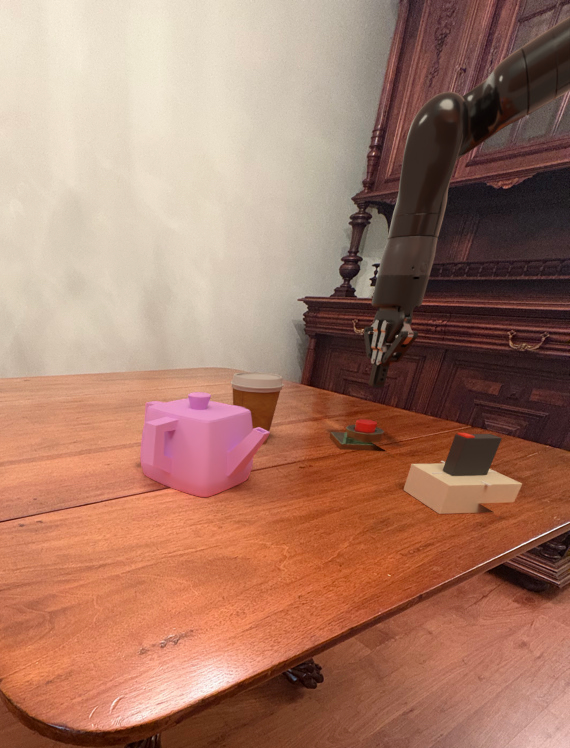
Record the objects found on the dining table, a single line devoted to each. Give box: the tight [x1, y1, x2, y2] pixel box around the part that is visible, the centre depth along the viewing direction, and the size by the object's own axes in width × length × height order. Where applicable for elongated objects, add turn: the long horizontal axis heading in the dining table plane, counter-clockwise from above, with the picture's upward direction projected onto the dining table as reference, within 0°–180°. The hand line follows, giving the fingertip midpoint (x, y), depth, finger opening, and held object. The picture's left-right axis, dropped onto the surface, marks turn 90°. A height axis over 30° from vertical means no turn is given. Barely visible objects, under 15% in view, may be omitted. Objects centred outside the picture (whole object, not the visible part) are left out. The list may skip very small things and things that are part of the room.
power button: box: [354, 418, 378, 432], centre depth 80 cm, size 4×4×2 cm
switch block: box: [329, 424, 387, 452], centre depth 81 cm, size 10×8×3 cm
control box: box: [403, 460, 523, 515], centre depth 58 cm, size 10×9×4 cm
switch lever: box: [443, 432, 503, 476], centre depth 56 cm, size 5×2×5 cm, turn 96°
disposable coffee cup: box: [230, 371, 285, 446], centre depth 79 cm, size 10×10×12 cm
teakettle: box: [139, 391, 271, 498], centre depth 62 cm, size 17×17×12 cm
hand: (375, 386), depth 76 cm, fingers closed
